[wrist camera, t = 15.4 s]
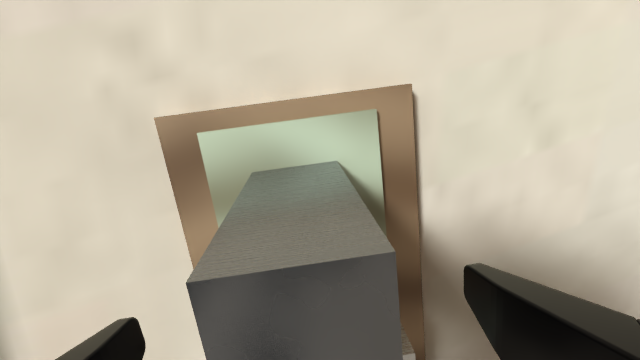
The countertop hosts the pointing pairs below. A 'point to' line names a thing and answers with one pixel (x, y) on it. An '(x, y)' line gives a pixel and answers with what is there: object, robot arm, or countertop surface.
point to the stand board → (303, 149)
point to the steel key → (298, 273)
